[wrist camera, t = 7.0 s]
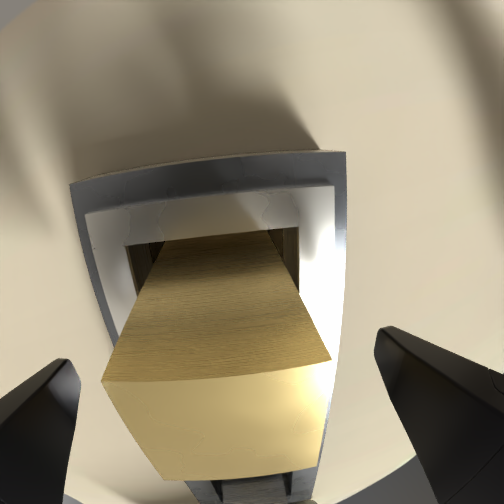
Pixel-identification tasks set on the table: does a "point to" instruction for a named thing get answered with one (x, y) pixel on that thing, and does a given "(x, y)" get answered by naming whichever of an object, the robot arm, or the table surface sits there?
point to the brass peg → (221, 363)
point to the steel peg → (255, 490)
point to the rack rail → (215, 223)
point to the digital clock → (305, 502)
